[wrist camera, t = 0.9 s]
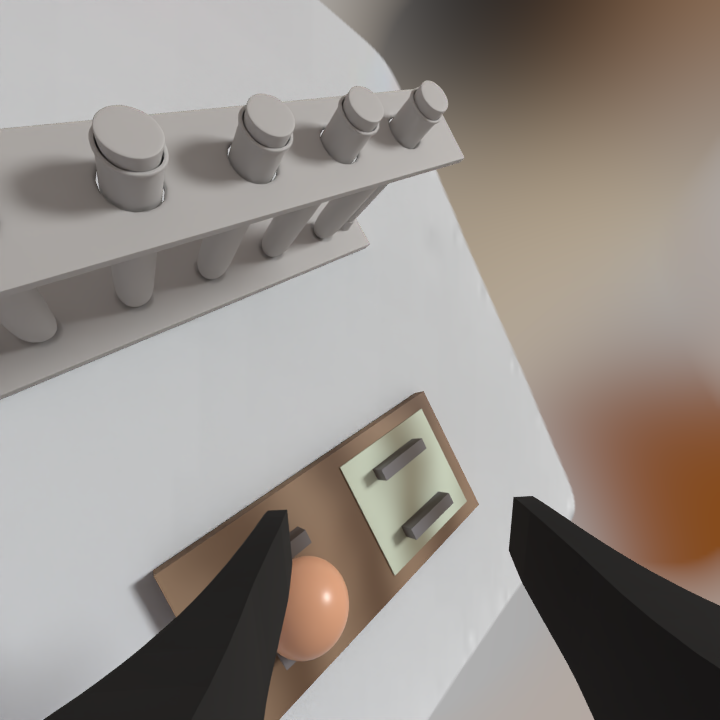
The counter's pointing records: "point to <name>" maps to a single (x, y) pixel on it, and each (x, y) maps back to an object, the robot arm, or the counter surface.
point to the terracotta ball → (313, 609)
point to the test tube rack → (187, 213)
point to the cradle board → (347, 526)
